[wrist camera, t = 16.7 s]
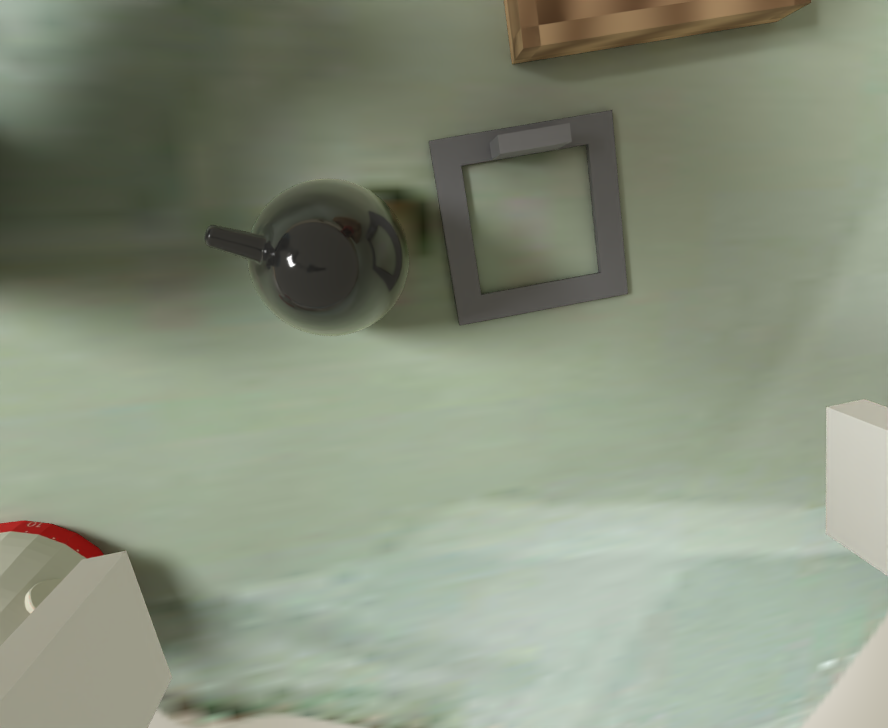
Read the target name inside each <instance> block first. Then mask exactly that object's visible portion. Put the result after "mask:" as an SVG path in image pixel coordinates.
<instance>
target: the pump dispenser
mask: <svg viewBox="0 0 888 728" xmlns="http://www.w3.org/2000/svg"><path fill="white" fill-rule="evenodd" d="M204 239H205V243H206V245H207V246H209V247H212V248H215V249H218V250H221V251H224V252H227V253H230V254H233V255H236V256H239V257H242V258H245V259H247V261H248V269H249V273H250V277H251V280H252V283H253V285H254V288H255V290H256V292H257V294H258V295H259V297H260V298H261V300H262V301H263V303H264V304H265V305H266V306H267V308H268V309H269V310H270V311H271V312H272V313H273V314H274V315H276V316H277V317H278V318H279V319H281V320H282V321H284V322H285V323H287V324H288V325H290V326H292V327H294V328H296V329H298V330H301V331H304V332H307V333H311V334H315V335H322V336H340V335H346V334H351V333H354V332H358V331H360V330H363V329H365V328H367V327H369V326H371V325H373V324H374V323H376V322H377V321H379V320H380V319H381V318H382V317H383V316H385V315H386V314H387V313H388V312H389V311H390V309H391V308H392V307H393V306H394V304H395V303H396V302H397V300H398V298H399V297H400V295H401V293H402V290H403V288H404V285H405V282H406V279H407V274H408V267H409V252H408V245H407V241H406V237H405V234H404V231H403V229H402V226H401V224H400V222H399V221H398V219H397V217H396V216H395V214H394V213H393V211H392V210H391V209H390V208H389V206H388V205H387V204H386V203H385V202H384V201H383V200H382V199H381V198H379V197H378V196H377V195H375V194H374V193H373V192H371V191H370V190H368V189H366V188H364V187H362V186H360V185H358V184H355V183H352V182H349V181H345V180H340V179H329V178H325V179H315V180H309V181H305V182H302V183H299V184H297V185H294V186H292V187H290V188H288V189H286V190H285V191H283V192H281V193H280V194H279V195H277V196H276V197H275V198H273V199H272V200H271V201H270V202H269V203H268V204H267V205H266V206H265V208H264V209H263V210H262V212H261V213H260V214H259V216H258V218H257V219H256V221H255V223H254V226H253V228H252V231H251V232H246V231H241V230H236V229H231V228H226V227H221V226H216V225H210V226H209V227H208V228H207V230H206V232H205V238H204Z"/></svg>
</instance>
